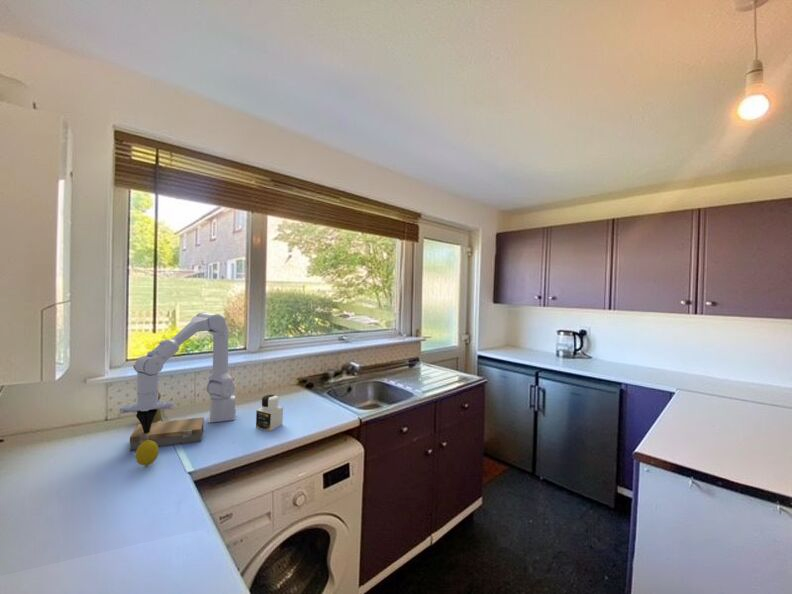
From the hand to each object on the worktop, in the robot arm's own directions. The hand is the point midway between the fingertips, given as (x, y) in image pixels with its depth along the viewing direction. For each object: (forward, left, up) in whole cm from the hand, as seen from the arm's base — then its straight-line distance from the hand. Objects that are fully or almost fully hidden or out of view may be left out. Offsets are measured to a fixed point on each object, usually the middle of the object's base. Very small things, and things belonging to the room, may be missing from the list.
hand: (147, 431), depth 113 cm
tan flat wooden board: (-6, -2, -2) cm, 7 cm away
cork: (+3, -24, -5) cm, 24 cm away
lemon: (-3, +14, -5) cm, 16 cm away
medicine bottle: (-39, -4, -5) cm, 39 cm away
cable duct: (-6, -3, -5) cm, 8 cm away
